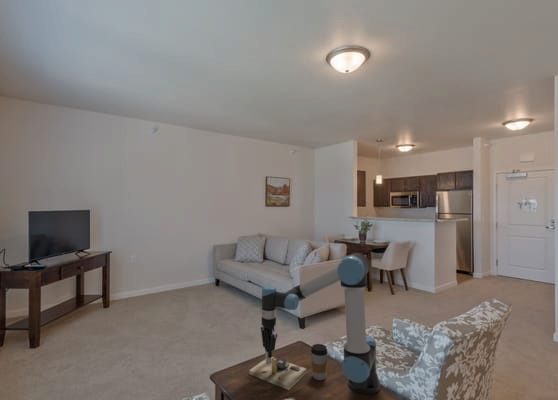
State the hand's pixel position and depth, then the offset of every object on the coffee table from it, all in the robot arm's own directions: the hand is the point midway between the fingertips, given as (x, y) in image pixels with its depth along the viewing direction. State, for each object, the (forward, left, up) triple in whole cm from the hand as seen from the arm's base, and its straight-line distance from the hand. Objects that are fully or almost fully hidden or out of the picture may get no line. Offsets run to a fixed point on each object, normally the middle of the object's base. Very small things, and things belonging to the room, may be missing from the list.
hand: (268, 362), depth 152 cm
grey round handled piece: (-4, -4, -3) cm, 7 cm away
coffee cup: (-23, -12, -6) cm, 27 cm away
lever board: (-4, -3, -6) cm, 8 cm away
